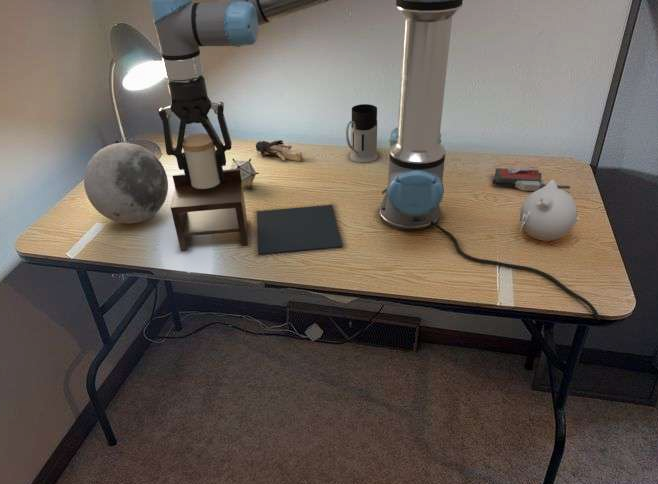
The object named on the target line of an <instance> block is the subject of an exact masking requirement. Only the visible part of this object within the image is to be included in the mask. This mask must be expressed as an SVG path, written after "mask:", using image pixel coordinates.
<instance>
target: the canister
mask: <svg viewBox="0 0 658 484" xmlns="http://www.w3.org/2000/svg"><path fill="white" fill-rule="evenodd" d="M182 150H183V153H185V158H186V163H187V167H188V172H189V177H190V181H191V185H192V186H193V187H194V188H198V189H207V188H212V187H214V186H216V185H218V184H219V183H220V182H221V181H220V177H219V172H218V166H217V161H216V155H215V154H216V150H217V149H216V147H215V145H214V143H213V141H212V140H211V138H210V137H209V135H208V133H193V134H190V135H186V136H184V140H183V143H182Z"/></svg>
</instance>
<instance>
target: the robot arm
mask: <svg viewBox="0 0 658 484" xmlns="http://www.w3.org/2000/svg"><path fill="white" fill-rule="evenodd" d="M334 1H335V0H219V1H215V2H193V0H150V5H151V13H152V18H153V20H152V22H153V24H154V27H155V28H154V29H155V32H156V37H157V41H158V45H159V50H160V54H161V59H162V65H163V68H164V74H165V78H166V79H168V80H167V87H168V92H169V95H170V97H169V98H170V105H169V106H166V107H165V106H160V108H159V111H158V116H159V118H160V120H161V122H162V129H163V137H164V144H165V145H164V146H165V153H166V155H167V156H173V157H175V158H176V162H177V167H178V170H179V171H183V173H185V178H186V182H187V184H190V183H191V181H190V177H189V172H188V167H187V163H186V158H185V153H184V152H183V147H182V143H183V140H184V138H185V136H186V135H185V133H186V129H187V125H191V124H201V126H202V127H203V128H204V130H205V132H206V134H208V135H209V137H210V138H211V140H212V141H213V143H214V145H215V150H216V154H215V155H216V161H217V166H218V172H219V177H220V181H224V174H223V170H224V168H223V167H225V166H227V158H226V152H227V151H230V150H231V149H232V139H231V135H230V132H229V128H228V124H227V121H226V118H225V113H224V109H225V103H224V102H223V101H219V102H214V101H213V102H212V101H211V99H210V98H209V95H208V90H207V84H206V79H205V76H203V74H204V67H203V63H202V62H203V61H202V56H201V51H200V47H236V48H240V47H244V46H252V45H254V44H255V43H256V42H257V40H258V35H259V26H262V25H265V24H267V23H270V22H273V21H275V20H279V19H283V18H285V17H287V16H291V15H295V14H297V13H300V12H304V11H307V10H310V9H314V8H315V7H318V6H321V5H322V6H323V5H324V4H328V3H332V2H334ZM463 1H464V0H395V8H396V9H397V10H398V12H400V13H401V15H402V16H403V27H402V44H401V45H402V47H401V62H400V63H401V64H400V81H399V83H400V84H399V101H398V118H397V120H398V121H397V127H395V128H393V130H391V132H390V137H389V141H388V142H389V153H388V154H389V155H388V174H387V175H388V176H387V187H386V188H384V189H383V190H382V191H381V195H382V196H383V195H384V196H383V199H382V200H381V204H380V207H379V218H380V220H381V222H382V223H383V224H385V225H386V226H388V227H390V228H392V229H394V230H399V231H404V232H418V231H425V230H428V229H431V228H433V227H435V228H436V229H437V230H439V231H440V232H442V233H444V234H445V235H447V237H449V238H450V239H451V240H452V241H453V244H454V246H455V249H456V251H457V252H458V253H459V254H460V255H461V256H462V257H464V258H466V259H468V260H470V261H473V262H476V263H482V264H490V265H496V266H501V267H505V268H512V269H518V270H524V271H528V272H533V273H535V274H538V275H541V276H543V277H545V278H547V279H549V280H550V281H552V282H553V283H554V284H556V285H557V286H559V288H561V289H562V290H563V291H565V292H566V293H567V294H569V295H571V296H572V297H573V298H576V300H579V301H581V303H584V304H585V305H586V306H587V307H588V308H589V309H590V311H591V312H592V314H593V315H594V317H595V320H597V321H601V316H600V315H599V312H598V311H597V309H596V307H595V306H594V305H593V304H592V303H591V302H590V301H588V300H587V299H586V298H584V296H583V297H582V295H579V294H578V293H576V292H574V291H573V290H571V289H570V288H568V287H567V286H565V285H564V284H563V283H561V282H560V281H559V279H556V278H555V277H554V276H552V275H551V274H549V273H547V272H544V271H542V270H539V269H537V268H534V267H529V266H525V265H518V264H512V263H506V262H501V261H496V260H491V259H490V260H489V259H483V258H477V257H475V256H471V255H468V254H467V253H465V252H464V251H463V250H462V249H461V248H460V245H459V242H458V240H457V239H456V237H455V236H454V235H453V234H452V233H450V232H449V231H447V230H446V229H445V228H443V227H441V226H440V225H439V224H438V223H439V221H440V219H441V206H440V205H441V202H442V200H443V197H444V193H445V186H444V169H445V162H446V154H447V153H446V151H447V150H446V148H445V146H444V145H442V144H441V143H442V133H441V128H442V127H441V126H442V117H443V108H444V99H445V89H446V80H447V71H448V62H449V61H448V60H449V53H450V52H449V50H450V41H451V31H452V22H453V16H455V14H456V13H457V12H458V11H459V10H460V9H461V8H462V7H463ZM211 109H212V110H213V113H214V114H215V115H216V116H217V122H218V125H219V128H220V132H221V136H222V140H223V142H224V143H223V142H222V140H221V138H220V137H219V135H218V133H217V131H216V130H215V128H214V126H213V124H212V123H211V120H210V117H209V116H208V114H209V113H210V110H211ZM172 113H173V114H174V115H175V116H176V117H177V118H178V119H179V120H180V122H179V128H178V133H177V141H176V147H174V143H173V135H172V126H171V116H172Z"/></svg>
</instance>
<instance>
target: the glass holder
mask: <svg viewBox="0 0 658 484" xmlns="http://www.w3.org/2000/svg"><path fill="white" fill-rule="evenodd" d="M346 124H347V125H346V128H345V138H346V139H345V140H346V143H347V146H348V147H349V149H350V154H349V159H350V160H351V161H353V162H355V163H363V164H364V163H371V162H374V161H376V160H377V159H378V157H379V155H378V152H377V151H378V145H377V144H378V107H377V106H376V105H374V104H369V103H362V104H356V105H353V106H352V107H351V120H349V121H348V123H346ZM349 129H350V137H349Z"/></svg>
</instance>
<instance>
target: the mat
mask: <svg viewBox="0 0 658 484" xmlns="http://www.w3.org/2000/svg"><path fill="white" fill-rule="evenodd" d="M256 228H257V229H256V231H257V254H258V256H263V255H264V256H265V255H273V254H285V253H296V252H297V253H298V252H306V251H316V250H317V251H318V250H327V249H328V250H329V249H339V248H343V244H342V238H341V234H340V231H339V227H338V223H337V220H336V216H335V212H334V207H333V204H323V205H313V206H312V205H311V206H301V207H291V208H290V207H289V208H278V209H268V210H267V209H266V210H258V211H256Z"/></svg>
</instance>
